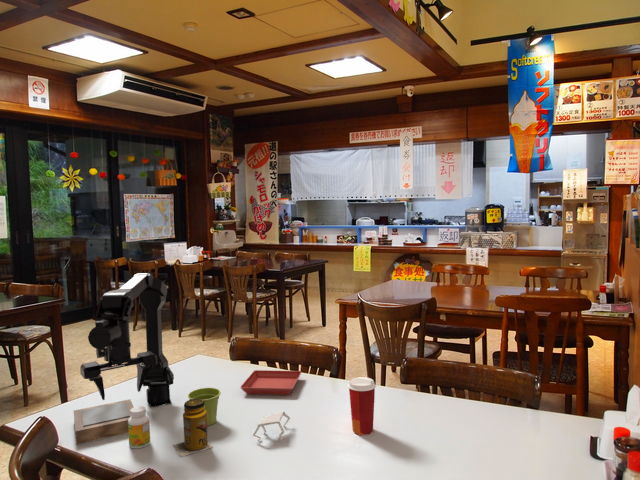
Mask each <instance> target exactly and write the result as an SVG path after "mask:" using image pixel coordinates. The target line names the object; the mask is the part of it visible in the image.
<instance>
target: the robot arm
mask: <svg viewBox="0 0 640 480" xmlns="http://www.w3.org/2000/svg"><path fill="white" fill-rule="evenodd" d="M167 295H168V286H167V285H166V284H165V282H164V281H163V280H161V279H159V278H158V277H155V276H154V275H153V274H152V273H149V272H145V273H144V272H142V273H141V272H138V273H136V274H134V275H133V276H132V277H131V279H129V280H128V281H127V282H126V283H125V284H123V285H122V286H121V287H120V288H118V289H114V290H110V291H107V292H105V293H104V294H103V295H101V298H100V300H99V304H98V307H97V309H96V310H97V311H96V314H95V318H94V321H95V324H94V325H95V327H93V328H91V330H90V331H89V333H88V336H87V338H88V339H87V340H88V343H89V344H90V346H91V347H93V348H94V349H95V352H96V353H95V354H96V355H95V356H96V358H97V359H100V358H103V359H104V362H105V363H104V362H103V363H99V362H98V361H96V360H95V361H89V362H85V363H81V365H80V367H79V369H80V373H79V374H80V375H81V377H82V378H83V379H84V380H88V381H90V382H94V385H96V386H95V387H96V388H97V390H98V392H99V395H100V398H101V400H102V401H105V399H106V398H105V396H106V395H105V386H104V380H103V379H104V378H103V376H102V375H101V374H102V372H104V371H110V370H115V369H120V368H124V367H129V366H135V365H136V369H137V371H136V372H137V374H136V377H137V378H136V390H137V392H138V393H139V392H141V390H142V387H147V389H146V390H145V392H146V403H147V404H148V405H149V407H150V408H154V407H155V408H156V407H160V406H165V405H169V404H172V401H171V394H170V392H171V390H170V386H171V385H174V380H175V379H174V378H175V377H174V373H173V371H172V370H171V368H170V367H169V360H168V358H167V357H166V356H165V355H164V353H163V335H162V334H163V331H162V330H163V328H162V325H163V324H162V307H163V306H164V304H165V303H166V301H167ZM137 297H138V299H139V300H138V301H139V303H140V305H141V306H142V308H143V309H144V311H145V336H146V337H145V338H146V351H143V352H137V355H136V356H135V357H132V355H131V347H132V343H131V339H130V337H131V335H130V319H131V318H132V316H131V312H132V308H133V307H134V305H135V304H134V300H135V299H136V298H137Z"/></svg>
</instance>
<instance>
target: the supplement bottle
mask: <svg viewBox="0 0 640 480" xmlns="http://www.w3.org/2000/svg"><path fill="white" fill-rule="evenodd" d="M133 407H134V408H132V409H131V410H130V416H131V417H130V418H129V419H128V433H127V434H128V446H129V447H130V448H131V449H143V448H145V447H147V446H149V445H150V443H151V428H150V417H149V415H148V414H147V407H145V406H144V405H139V406H133Z"/></svg>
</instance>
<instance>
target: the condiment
mask: <svg viewBox="0 0 640 480" xmlns="http://www.w3.org/2000/svg"><path fill="white" fill-rule="evenodd" d="M183 406H184V407H183V408H184V409H183V411H184V412H183V413H182V422H183V423H182V424H183V442H179V443H175V444H172V446H173V448H174V449H175V451H176V452H177V453H178V455H180V457H185V456H189V455H191V454H195V453H198V452H202V451H205V450H209V449H211V448H213V447H214V446H213V445H212V444H211V443H210V442H209V441H208V440H209V439H208V435H209V434H208V425H207V414H206V410H205V402H204V401H203V400H202V399H191V400H190V399H188V400H186V401H185V402H184V405H183Z"/></svg>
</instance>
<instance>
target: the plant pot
mask: <svg viewBox="0 0 640 480" xmlns="http://www.w3.org/2000/svg"><path fill="white" fill-rule="evenodd" d="M221 393H222V392H221V390H220V389H219V388H215V387H202V388H201V387H200V388H196V389H194V390H191V391H190V392H189V393H188V394H187V398H188V400H191V399H202V400H203V401H204V402H205V410H206V414H207V426H212V425H213V424H215V423H216V421H217V414H218V413H217V412H218V404H219V403H218V402H219V400H220V395H221Z"/></svg>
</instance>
